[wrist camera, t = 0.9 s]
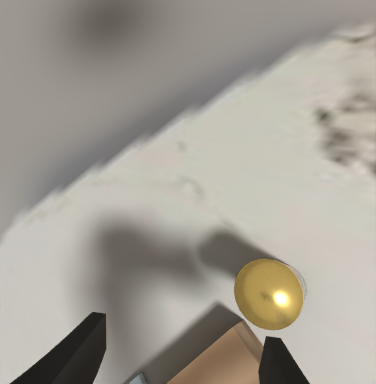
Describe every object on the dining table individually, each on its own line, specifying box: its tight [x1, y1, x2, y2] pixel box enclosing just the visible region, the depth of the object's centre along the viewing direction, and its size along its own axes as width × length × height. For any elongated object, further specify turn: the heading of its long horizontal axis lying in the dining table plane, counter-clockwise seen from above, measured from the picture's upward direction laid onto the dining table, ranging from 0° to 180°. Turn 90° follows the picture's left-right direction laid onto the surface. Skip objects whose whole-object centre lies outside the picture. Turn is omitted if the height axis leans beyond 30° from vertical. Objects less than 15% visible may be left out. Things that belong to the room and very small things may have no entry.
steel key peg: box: [234, 259, 306, 330], centre depth 20 cm, size 4×4×8 cm
